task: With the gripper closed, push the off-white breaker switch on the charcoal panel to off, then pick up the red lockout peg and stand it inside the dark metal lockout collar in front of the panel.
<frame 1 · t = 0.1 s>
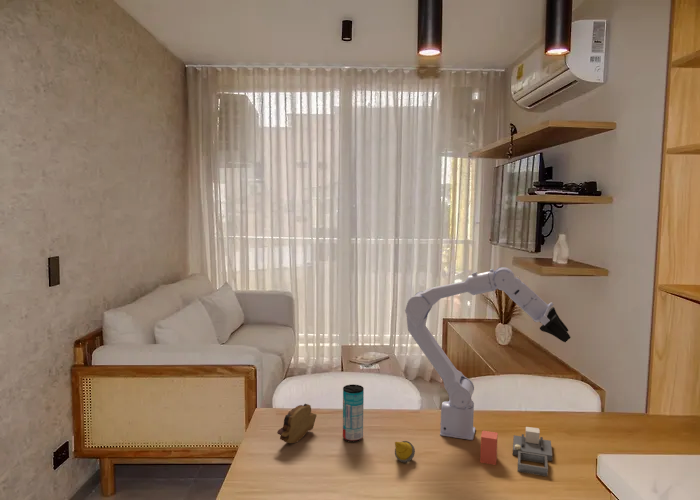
hand: (566, 336, 141), 32 cm above the table, fingers open, 7 cm apart
breaker switch: (532, 435, 145), point 3 cm above the table, slide at 0.0 cm
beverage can: (352, 438, 149), on the table
lockout peg: (488, 460, 137), on the table
lockout collar: (532, 467, 134), on the table
yellow flanged cylinder: (404, 462, 136), on the table
wooden carving: (296, 440, 148), on the table
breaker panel: (531, 450, 143), on the table
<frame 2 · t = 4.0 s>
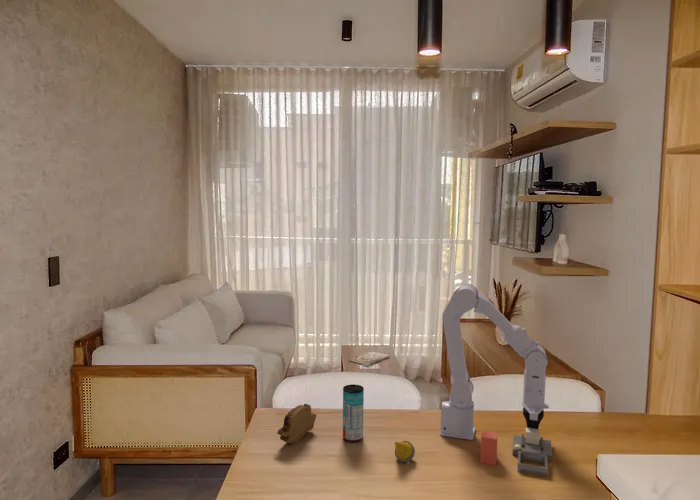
hand: (532, 434, 147), 2 cm above the table, fingers closed
breaker switch: (532, 436, 144), point 3 cm above the table, slide at 0.5 cm, touching gripper
everything else where it was.
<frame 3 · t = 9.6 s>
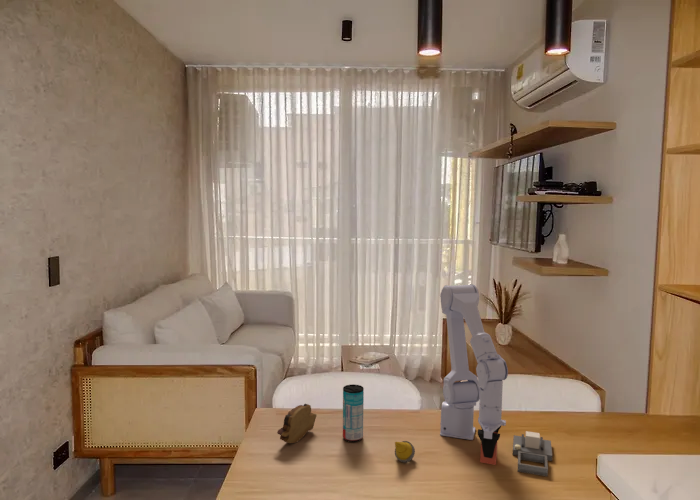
hand: (488, 453, 137), 2 cm above the table, fingers closed on lockout peg, 4 cm apart
breaker switch: (532, 440, 142), point 3 cm above the table, slide at 3.1 cm
lockout peg: (488, 459, 137), on the table, touching gripper
everything else where it was.
when the fingers open (3 cm above the table, at t = 13.7 s): lockout peg drops 1 cm, resting in lockout collar.
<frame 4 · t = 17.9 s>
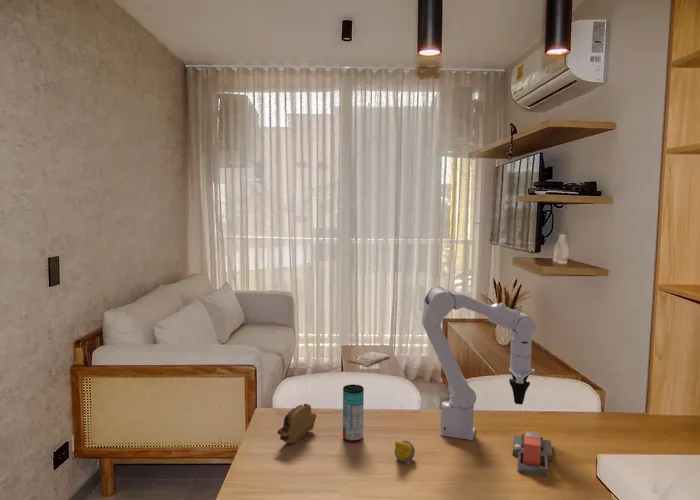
hand: (518, 398, 152), 10 cm above the table, fingers open, 7 cm apart
lockout peg: (531, 467, 134), resting in lockout collar
everything else where it was.
at the end: breaker switch slide at 3.1 cm; lockout peg 0.2 cm from the target spot, resting in lockout collar; lockout peg tilted 0° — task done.
